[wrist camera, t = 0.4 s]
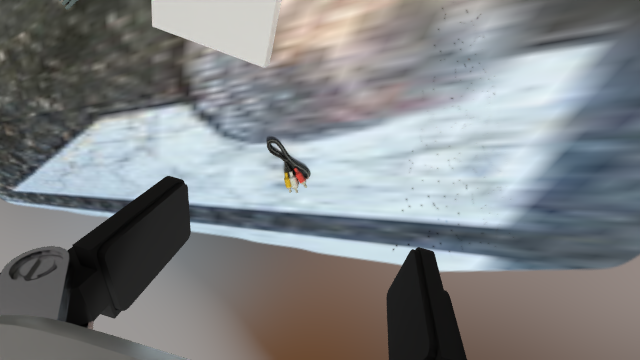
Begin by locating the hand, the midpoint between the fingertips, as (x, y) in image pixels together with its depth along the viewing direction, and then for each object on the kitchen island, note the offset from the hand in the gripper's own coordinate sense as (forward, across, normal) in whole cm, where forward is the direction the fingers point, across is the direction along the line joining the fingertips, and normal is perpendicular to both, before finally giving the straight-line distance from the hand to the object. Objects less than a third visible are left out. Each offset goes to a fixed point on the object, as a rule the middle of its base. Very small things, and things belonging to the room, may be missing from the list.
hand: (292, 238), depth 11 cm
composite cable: (+32, +7, +14) cm, 35 cm away
